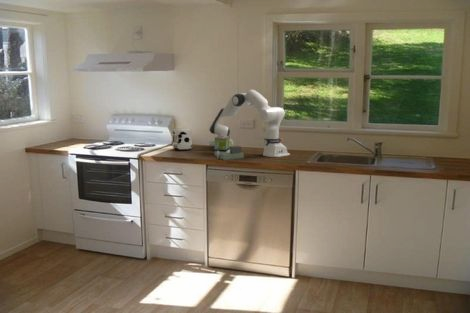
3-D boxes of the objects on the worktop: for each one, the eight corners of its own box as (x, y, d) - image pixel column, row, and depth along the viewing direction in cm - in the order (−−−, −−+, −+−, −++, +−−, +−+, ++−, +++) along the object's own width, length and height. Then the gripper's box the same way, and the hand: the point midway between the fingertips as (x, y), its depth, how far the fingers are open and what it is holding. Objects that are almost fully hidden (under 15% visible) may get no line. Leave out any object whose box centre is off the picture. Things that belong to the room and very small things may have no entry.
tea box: (226, 156, 368) (226, 138, 365) (214, 155, 370) (214, 137, 367) (230, 152, 382) (230, 135, 379) (218, 152, 384) (218, 135, 381)
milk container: (193, 148, 407) (192, 128, 403) (191, 151, 390) (191, 130, 386) (173, 148, 406) (173, 128, 403) (171, 151, 389) (170, 130, 386)
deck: (238, 156, 367) (238, 145, 365) (243, 157, 359) (243, 146, 358) (216, 158, 357) (216, 147, 356) (221, 160, 350) (221, 148, 348)
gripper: (209, 138, 400) (209, 140, 386) (232, 137, 401) (233, 140, 388) (209, 145, 401) (209, 147, 387) (232, 144, 402) (233, 147, 389)
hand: (221, 143), depth 387 cm, fingers closed
